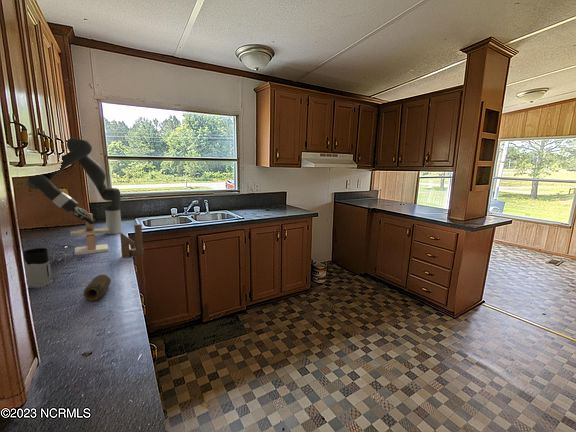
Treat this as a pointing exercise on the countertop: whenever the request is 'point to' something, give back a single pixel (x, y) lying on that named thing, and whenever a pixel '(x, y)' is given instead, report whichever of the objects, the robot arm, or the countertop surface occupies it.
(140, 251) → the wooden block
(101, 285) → the olive brown hollow cylinder
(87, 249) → the stand
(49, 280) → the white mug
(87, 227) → the bar
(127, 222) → the countertop surface
